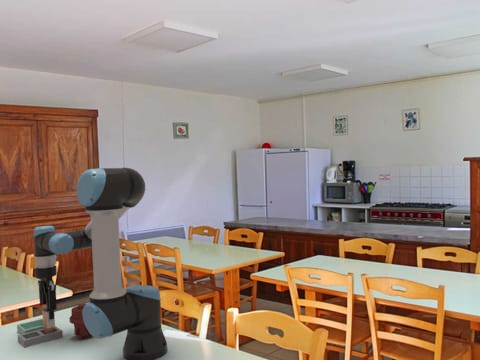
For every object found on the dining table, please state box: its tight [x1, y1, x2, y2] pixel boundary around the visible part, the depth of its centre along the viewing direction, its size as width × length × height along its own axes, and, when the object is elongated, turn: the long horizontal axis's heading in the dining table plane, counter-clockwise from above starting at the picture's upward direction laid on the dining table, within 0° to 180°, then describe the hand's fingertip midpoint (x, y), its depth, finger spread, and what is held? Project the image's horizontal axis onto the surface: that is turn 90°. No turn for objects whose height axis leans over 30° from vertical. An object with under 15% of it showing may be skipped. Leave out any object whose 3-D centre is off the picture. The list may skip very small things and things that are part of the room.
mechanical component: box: [68, 303, 93, 341], centre depth 175 cm, size 12×10×10 cm
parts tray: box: [16, 318, 43, 335], centre depth 182 cm, size 10×10×3 cm
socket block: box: [17, 325, 64, 348], centre depth 174 cm, size 8×14×2 cm, turn 132°
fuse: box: [41, 303, 55, 334], centre depth 175 cm, size 4×4×12 cm
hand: (48, 325), depth 175 cm, fingers closed on fuse, 4 cm apart
